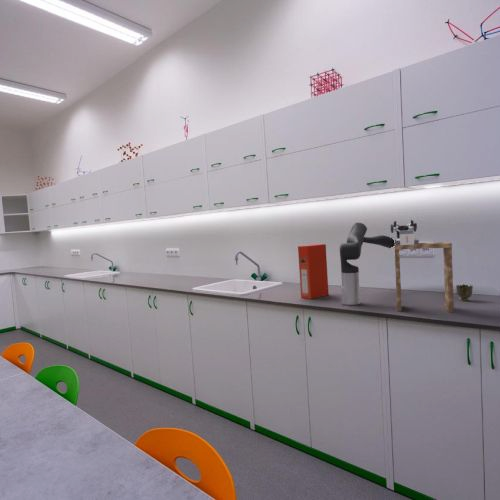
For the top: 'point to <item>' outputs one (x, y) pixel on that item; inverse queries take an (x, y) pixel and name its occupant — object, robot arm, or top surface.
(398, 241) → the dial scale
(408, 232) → the block
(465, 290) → the cup
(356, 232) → the robot arm
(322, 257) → the file binder
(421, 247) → the oak shelf
